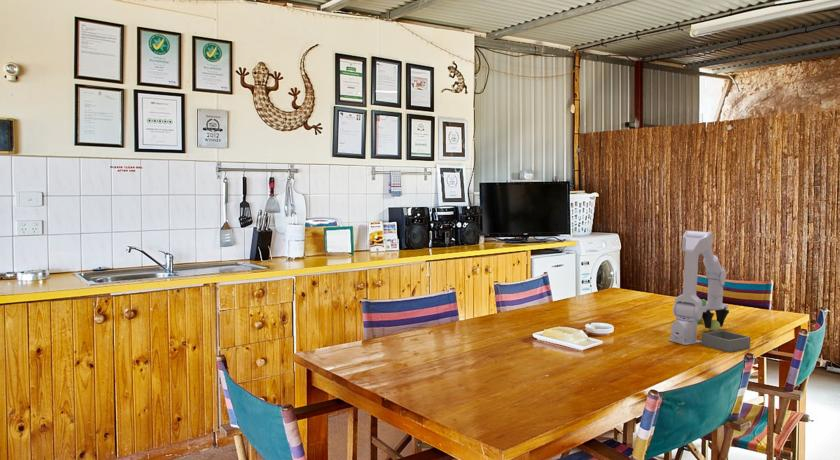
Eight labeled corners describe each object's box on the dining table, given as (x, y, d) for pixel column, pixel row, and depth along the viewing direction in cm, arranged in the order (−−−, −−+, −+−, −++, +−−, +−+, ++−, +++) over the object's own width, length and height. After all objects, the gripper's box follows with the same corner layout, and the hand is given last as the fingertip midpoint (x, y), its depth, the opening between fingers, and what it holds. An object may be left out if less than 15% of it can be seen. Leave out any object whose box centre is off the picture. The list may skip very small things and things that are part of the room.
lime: (714, 332, 263) (715, 321, 263) (704, 330, 267) (705, 319, 267) (722, 331, 265) (722, 320, 265) (712, 329, 270) (712, 318, 269)
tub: (729, 352, 233) (729, 340, 233) (701, 344, 244) (701, 333, 243) (749, 348, 239) (750, 337, 238) (721, 341, 249) (722, 330, 249)
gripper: (711, 298, 258) (710, 331, 259) (735, 295, 265) (733, 327, 266) (697, 295, 264) (695, 327, 266) (720, 292, 271) (718, 323, 272)
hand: (713, 327), depth 266 cm, fingers open, 7 cm apart
